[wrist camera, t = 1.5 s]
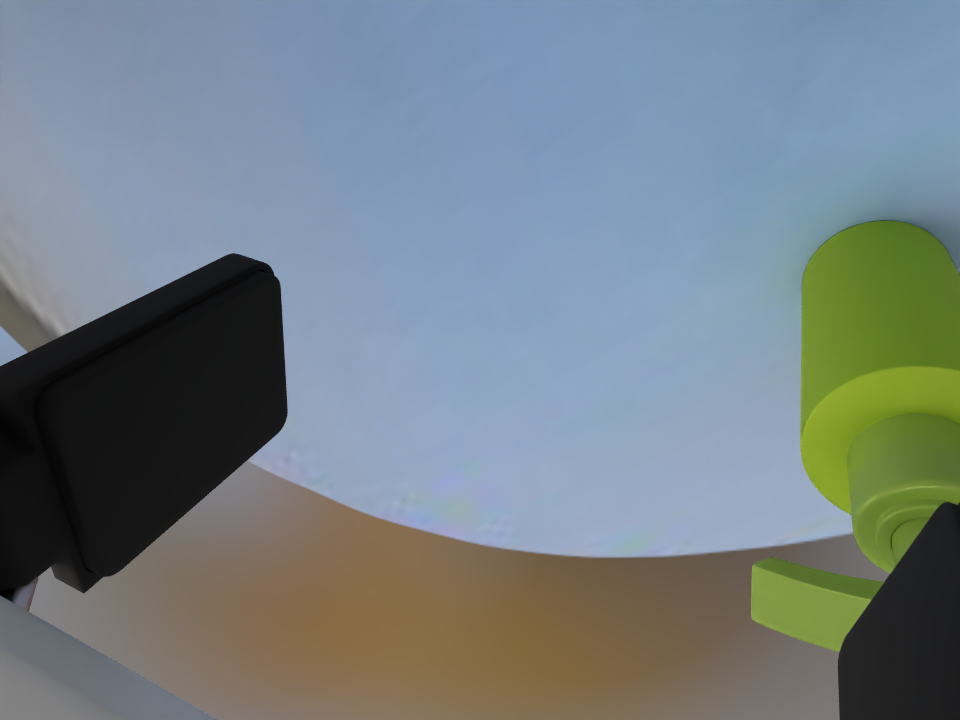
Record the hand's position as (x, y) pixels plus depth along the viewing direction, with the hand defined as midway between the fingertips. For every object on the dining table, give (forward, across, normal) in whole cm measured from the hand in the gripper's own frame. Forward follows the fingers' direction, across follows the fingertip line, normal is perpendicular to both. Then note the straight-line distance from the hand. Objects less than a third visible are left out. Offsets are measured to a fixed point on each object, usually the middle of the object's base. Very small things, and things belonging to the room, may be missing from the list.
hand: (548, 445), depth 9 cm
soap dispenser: (+25, -8, +6) cm, 27 cm away
